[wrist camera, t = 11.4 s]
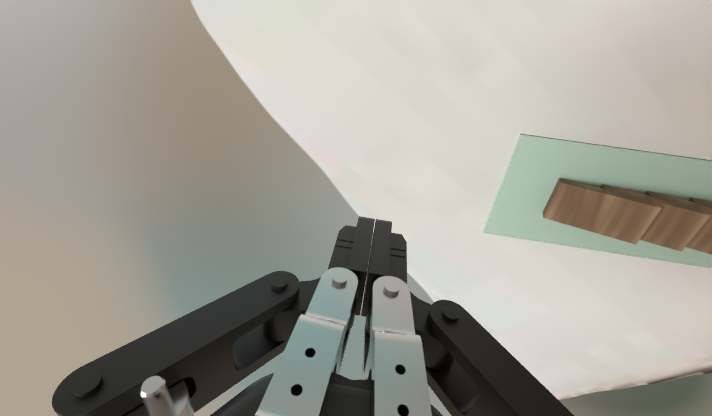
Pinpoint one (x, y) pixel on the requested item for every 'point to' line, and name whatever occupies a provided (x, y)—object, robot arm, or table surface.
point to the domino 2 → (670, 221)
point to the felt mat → (595, 167)
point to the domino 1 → (600, 210)
